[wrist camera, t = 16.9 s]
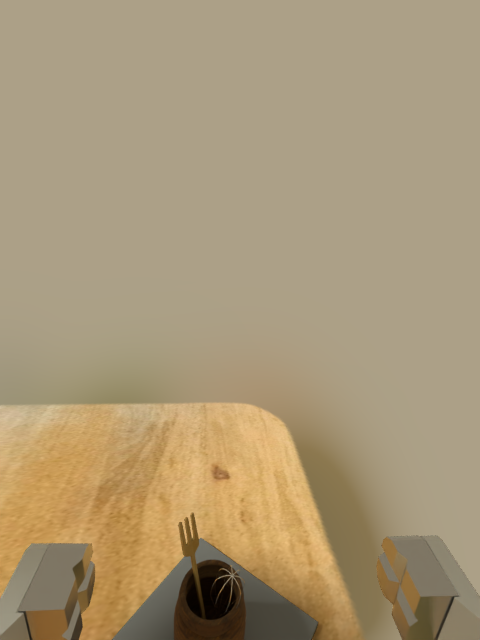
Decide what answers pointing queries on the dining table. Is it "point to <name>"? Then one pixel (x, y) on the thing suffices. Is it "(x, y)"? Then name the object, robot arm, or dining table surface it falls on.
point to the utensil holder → (208, 597)
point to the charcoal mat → (260, 600)
